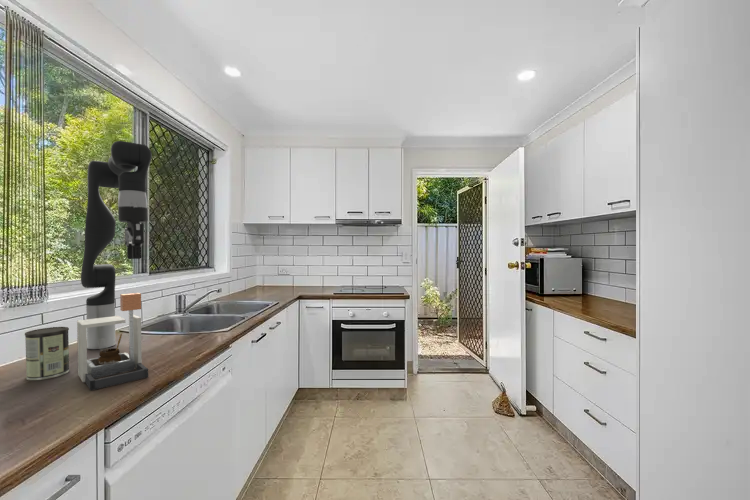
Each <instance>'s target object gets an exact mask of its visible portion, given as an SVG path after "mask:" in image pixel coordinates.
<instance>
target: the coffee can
mask: <svg viewBox="0 0 750 500" xmlns="http://www.w3.org/2000/svg"><path fill="white" fill-rule="evenodd" d="M69 330H70V329H69V327H68V326H51V327H42V328H37V329H32V330H29V331H26V332H24V336H25V337H24V338H25V340H24V341H25V371H26V375H25V376H26V378H25V379H26V381H27V380H28V381H42V380H49V379H53V378H57V377H60V376H63V375H66V374H68V373H69V372H70V362H69V361H70V353H69V352H70V351H69V350H70V348H69V347H70V346H69V341H70V340H69Z"/></svg>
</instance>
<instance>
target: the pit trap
mask: <svg viewBox="0 0 750 500" xmlns="http://www.w3.org/2000/svg"><path fill="white" fill-rule="evenodd" d="M147 378H149V369H148V368H147V367H146V366H145V365H144V364H141V363H137V369H136V370H132V371H127V372H123V373H118V374H113V375H109V376H104V377H100V378H93V377H92V376H91V374H90V373H87V374H85V382H84V383H85V385H87V387H88V389H89V391H95V390H100V389H104V388H107V387H112V386H116V385H121V384H125V383H129V382H133V381H134V382H135V381H138V380H143V379H147Z"/></svg>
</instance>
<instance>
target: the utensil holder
mask: <svg viewBox="0 0 750 500" xmlns="http://www.w3.org/2000/svg"><path fill="white" fill-rule="evenodd" d="M122 336H123V333H121V334H119V338H118V340H117V341H118V342H117V347H115V348H109V347H107V348H105V349H104V348H103V347H102V348H101V349H99V350H100V351H99V357H98V358H99V359H98V366H99V365H104V364H109V363H114V362H119V361H121V356H120V354H121V353H120V349H119V346H120V343H121V341H122V340H121V339H122ZM102 339H104V338H102ZM105 340H106V339H105ZM106 341H107V340H106ZM103 342H105V341H103ZM100 344H102V343H100ZM98 345H99V344H98ZM104 346H105V345H104Z"/></svg>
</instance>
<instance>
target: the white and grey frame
mask: <svg viewBox="0 0 750 500" xmlns="http://www.w3.org/2000/svg"><path fill="white" fill-rule="evenodd" d="M126 322H127V321H126V319H125V318H123V317H122V316H120V315H115V316H112V317H104V318H95V319H87V318H86V319H81V320H80V319H79V320H77V321H76V327H77V328H76V329H77V330H76V331H77V335H76V337H77V338H76V339H77V375H78V377H79V378H80V380H81V382H82V383H86V382H85V374H88V373H87V360H88V349H87V328H90V327H98V326H106V325H113V324H115V325H120V324H126ZM133 333H134V359H135V370H137V363H141V364H142V363H143V362H142V357H143V356H142V353H143V352H142V317H140V316H138V315H136V314H134V313H133ZM142 365H143V364H142Z"/></svg>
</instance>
